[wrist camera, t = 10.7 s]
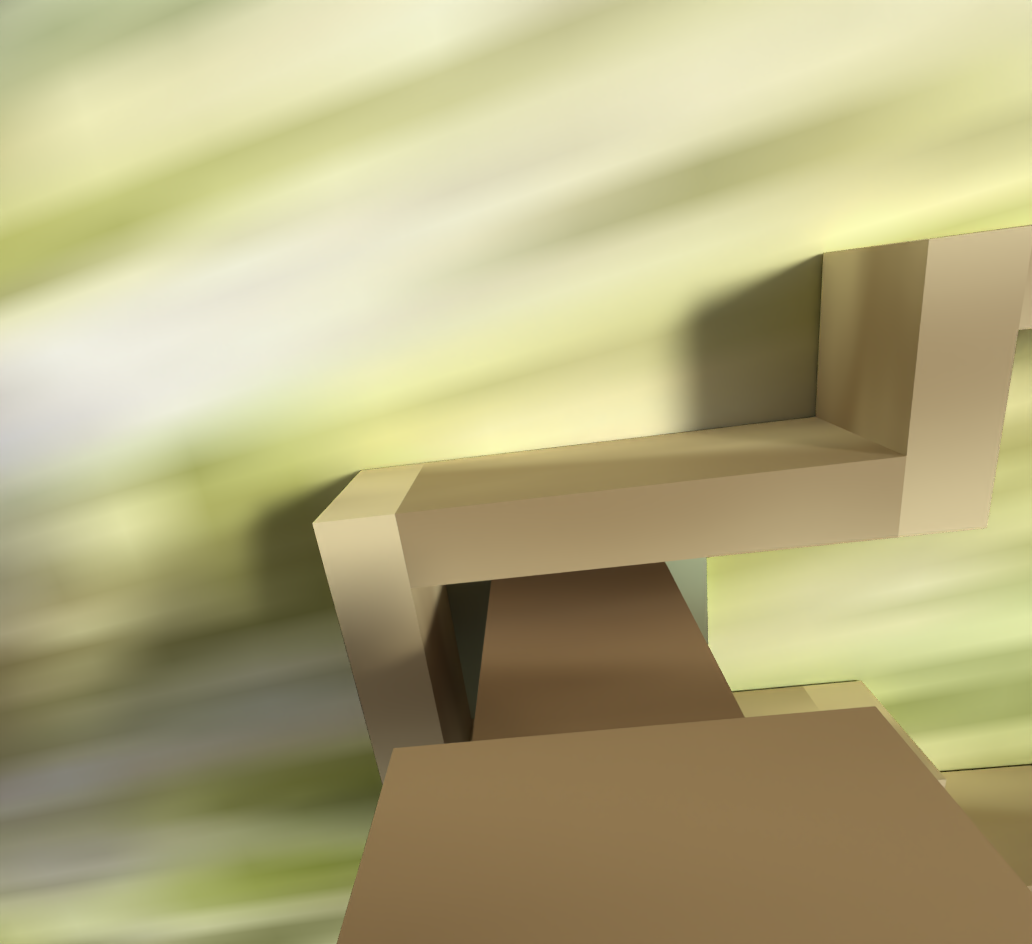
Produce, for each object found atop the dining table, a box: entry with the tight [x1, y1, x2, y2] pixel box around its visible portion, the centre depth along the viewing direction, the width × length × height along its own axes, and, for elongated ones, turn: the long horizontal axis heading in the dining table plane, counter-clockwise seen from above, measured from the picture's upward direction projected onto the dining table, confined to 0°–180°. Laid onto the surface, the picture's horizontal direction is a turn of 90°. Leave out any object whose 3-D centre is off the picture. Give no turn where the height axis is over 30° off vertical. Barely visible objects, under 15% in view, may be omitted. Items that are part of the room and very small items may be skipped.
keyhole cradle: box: [312, 225, 1032, 892], centre depth 9 cm, size 12×18×2 cm
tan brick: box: [337, 562, 1032, 944], centre depth 7 cm, size 7×3×8 cm, turn 7°
